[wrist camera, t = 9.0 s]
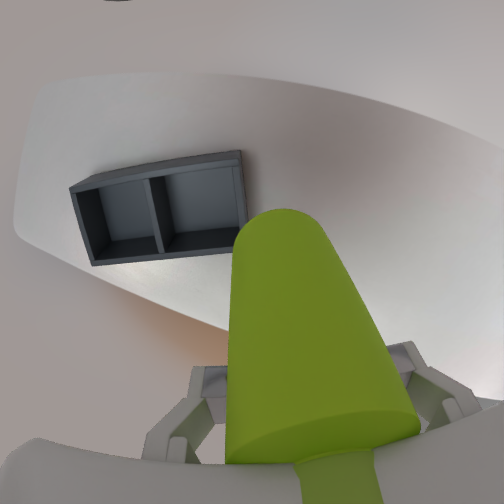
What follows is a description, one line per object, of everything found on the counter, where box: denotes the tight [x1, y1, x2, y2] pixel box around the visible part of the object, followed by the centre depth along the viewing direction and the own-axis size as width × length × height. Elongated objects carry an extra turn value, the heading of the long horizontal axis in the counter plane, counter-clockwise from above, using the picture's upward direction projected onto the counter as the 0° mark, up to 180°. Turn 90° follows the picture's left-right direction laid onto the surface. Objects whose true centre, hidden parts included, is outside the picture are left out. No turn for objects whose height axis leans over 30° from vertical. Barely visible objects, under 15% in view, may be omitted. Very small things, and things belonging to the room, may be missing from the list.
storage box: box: [69, 150, 248, 266], centre depth 36 cm, size 11×20×6 cm, turn 96°
